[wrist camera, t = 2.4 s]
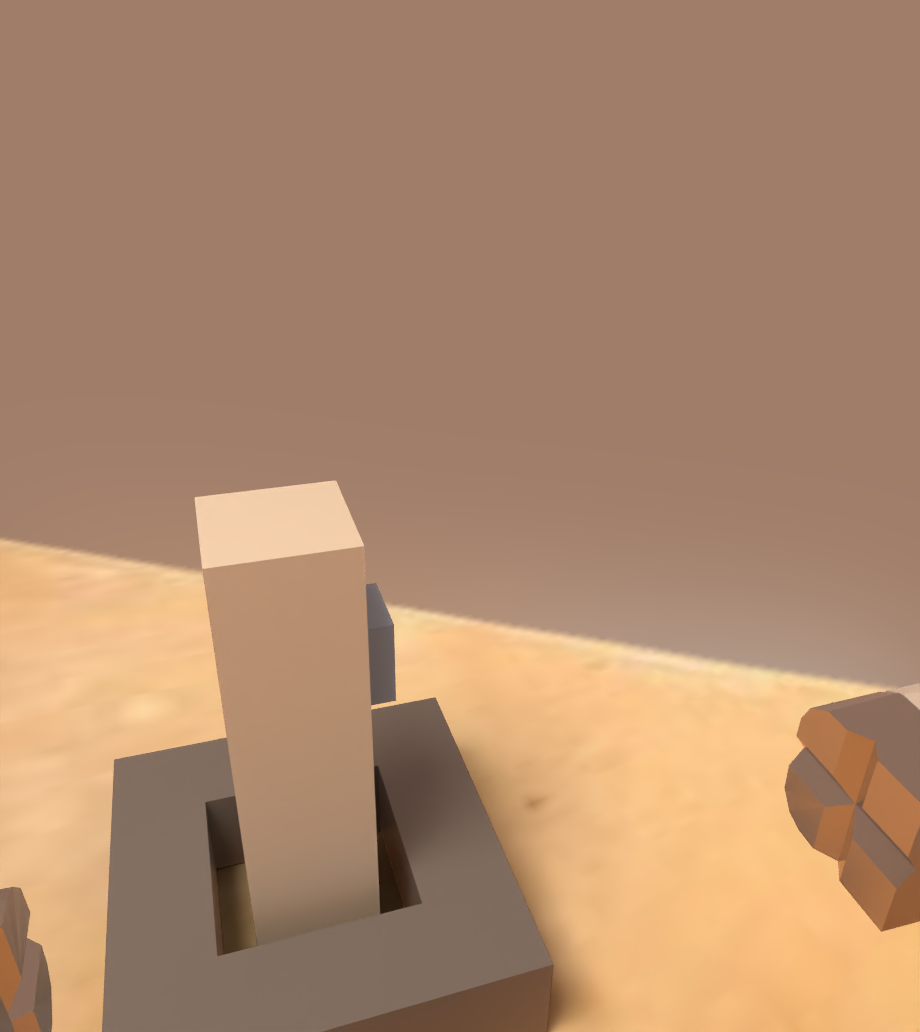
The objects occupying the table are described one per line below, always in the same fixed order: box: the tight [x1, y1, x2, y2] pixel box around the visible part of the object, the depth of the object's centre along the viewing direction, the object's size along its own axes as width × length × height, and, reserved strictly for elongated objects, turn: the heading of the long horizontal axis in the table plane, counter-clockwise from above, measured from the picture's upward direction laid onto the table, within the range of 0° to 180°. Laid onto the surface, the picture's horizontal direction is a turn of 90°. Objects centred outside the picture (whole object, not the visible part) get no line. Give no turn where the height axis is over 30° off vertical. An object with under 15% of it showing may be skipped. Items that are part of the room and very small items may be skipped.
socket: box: [102, 698, 553, 1032], centre depth 26 cm, size 11×11×3 cm
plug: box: [195, 481, 396, 946], centre depth 24 cm, size 4×4×14 cm
